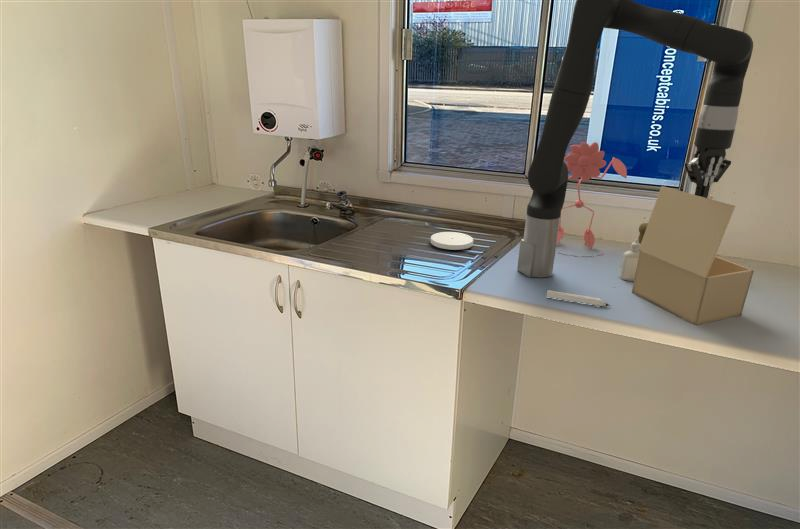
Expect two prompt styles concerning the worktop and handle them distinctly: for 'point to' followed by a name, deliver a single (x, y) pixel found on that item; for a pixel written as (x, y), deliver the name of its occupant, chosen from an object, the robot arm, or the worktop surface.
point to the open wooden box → (693, 288)
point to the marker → (576, 298)
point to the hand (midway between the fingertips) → (700, 200)
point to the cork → (642, 231)
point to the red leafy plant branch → (587, 176)
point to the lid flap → (686, 229)
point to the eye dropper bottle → (630, 262)
